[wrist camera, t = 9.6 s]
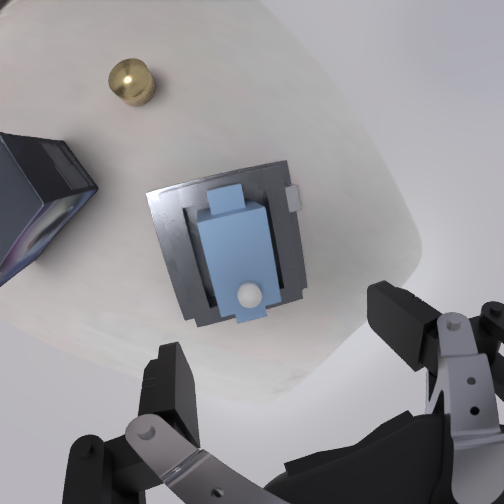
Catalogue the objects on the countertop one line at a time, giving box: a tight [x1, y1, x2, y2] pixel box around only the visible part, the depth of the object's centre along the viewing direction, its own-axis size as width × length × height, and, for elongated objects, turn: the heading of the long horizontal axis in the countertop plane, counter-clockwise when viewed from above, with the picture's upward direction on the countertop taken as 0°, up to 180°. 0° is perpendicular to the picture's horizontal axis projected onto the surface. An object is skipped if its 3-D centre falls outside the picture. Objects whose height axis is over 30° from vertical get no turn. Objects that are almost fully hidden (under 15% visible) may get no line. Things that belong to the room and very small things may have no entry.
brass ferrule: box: [108, 59, 155, 106], centre depth 18 cm, size 3×3×4 cm
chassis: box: [146, 160, 307, 327], centre depth 24 cm, size 12×12×3 cm
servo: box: [196, 183, 281, 323], centre depth 22 cm, size 10×4×6 cm, turn 11°
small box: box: [0, 132, 98, 287], centre depth 16 cm, size 11×6×10 cm, turn 127°
